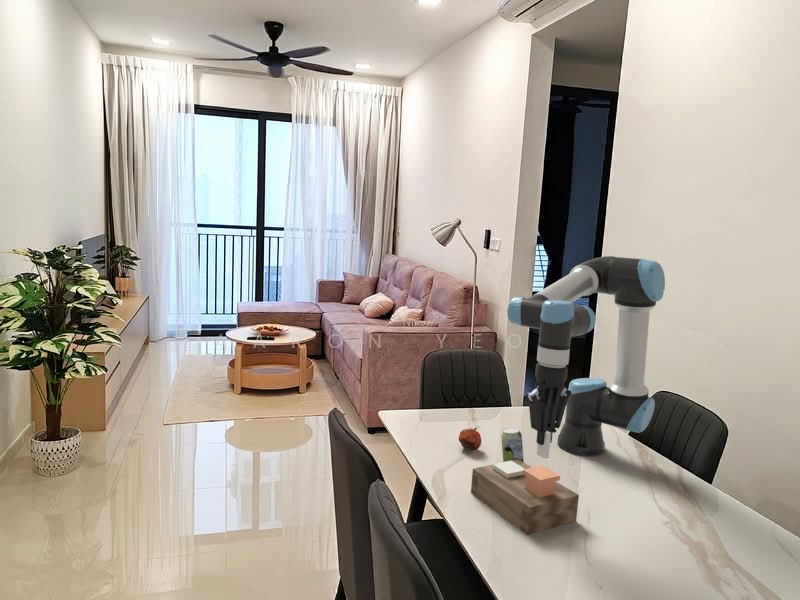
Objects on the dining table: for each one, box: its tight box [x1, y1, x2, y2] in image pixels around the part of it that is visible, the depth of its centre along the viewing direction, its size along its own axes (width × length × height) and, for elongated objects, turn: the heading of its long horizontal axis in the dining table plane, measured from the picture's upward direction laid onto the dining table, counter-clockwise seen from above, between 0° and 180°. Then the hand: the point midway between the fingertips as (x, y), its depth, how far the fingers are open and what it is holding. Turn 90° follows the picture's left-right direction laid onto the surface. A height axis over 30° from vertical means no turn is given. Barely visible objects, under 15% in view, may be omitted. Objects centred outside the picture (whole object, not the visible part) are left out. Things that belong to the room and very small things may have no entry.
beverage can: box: [501, 427, 525, 463], centre depth 180 cm, size 6×7×12 cm
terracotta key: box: [523, 465, 561, 498], centre depth 151 cm, size 6×6×8 cm
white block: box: [492, 461, 524, 478], centre depth 162 cm, size 6×6×8 cm
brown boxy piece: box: [470, 459, 580, 536], centre depth 157 cm, size 16×23×7 cm
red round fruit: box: [458, 427, 482, 454], centre depth 192 cm, size 7×7×10 cm
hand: (542, 455), depth 150 cm, fingers closed
